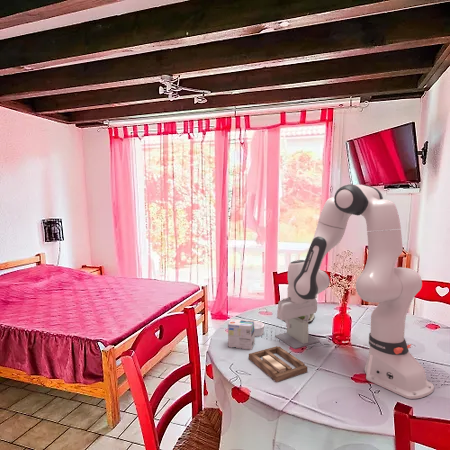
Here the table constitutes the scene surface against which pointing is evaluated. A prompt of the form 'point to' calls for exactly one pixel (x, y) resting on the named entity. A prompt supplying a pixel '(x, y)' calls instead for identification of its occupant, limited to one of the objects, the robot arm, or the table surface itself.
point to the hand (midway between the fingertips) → (297, 325)
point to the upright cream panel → (298, 330)
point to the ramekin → (258, 328)
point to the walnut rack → (287, 356)
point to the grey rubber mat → (294, 342)
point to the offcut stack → (273, 364)
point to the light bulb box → (241, 334)
